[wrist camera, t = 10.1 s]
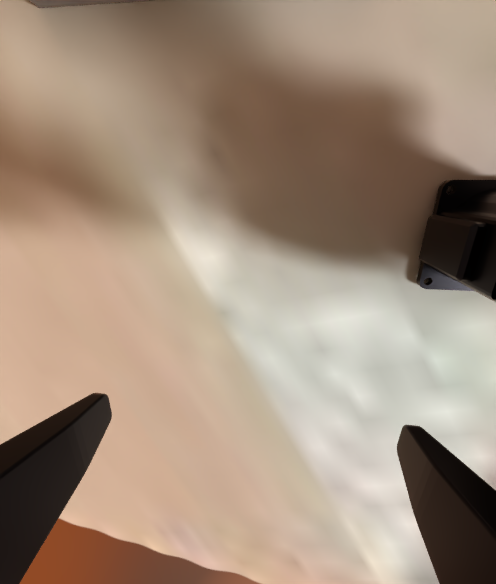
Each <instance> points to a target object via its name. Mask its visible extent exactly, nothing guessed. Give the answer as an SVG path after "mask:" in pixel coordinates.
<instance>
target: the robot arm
mask: <svg viewBox="0 0 496 584" xmlns="http://www.w3.org/2000/svg"><path fill="white" fill-rule="evenodd" d="M450 185H451V186H452V191H451V192H450V193H449V194H448V193H447V188H448V187H449V186H450ZM419 258H420V259H421V264H420V269H419V273H418V277H417V283H418V285H420V286H421V287H422V288H425V289H442V290H467V291H476V292H478V293H480V294H482V295H484V296H485V297H487V298H489V299H491V300H493V301H495V302H496V180H448V181H445V182H443V183H442V184H441V185H440V187H439V189H438V193H437V197H436V202H435V206H434V210H433V214H432V216H431V217H430V218H429V219H428V222H427V226H426V231H425V235H424V239H423V243H422V248H421V252H420V256H419ZM426 278H429V281H428V282H427V283H424V280H425V279H426ZM111 417H112V412H111V408H110V403H109V398H108V396H107V395H106V394H101V393H93V394H91V395H89V396H87V397H85V398H84V399H82V400H80V401H78V402H76V403H75V404H73V405H71V406H69V407H67V408H66V409H64V410H62V411H60V412H58V413H57V414H55V415H53V416H51V417H49V418H48V419H46V420H44V421H42V422H40V423H38V424H37V425H35V426H33V427H31V428H29V429H28V430H26V431H24V432H22V433H20V434H19V435H17V436H15V437H13V438H11V439H10V440H8V441H6V442H4V443H2V444H1V445H0V584H19V583H20V582H21V580H22V578H23V576H24V575H25V573H26V571H27V570H28V568H29V566H30V565H31V563H32V561H33V559H34V558H35V556H36V555H37V553H38V551H39V550H40V548H41V546H42V545H43V543H44V541H45V540H46V538H47V536H48V535H49V533H50V531H51V530H52V528H53V526H54V524H55V523H56V521H57V519H58V518H59V516H60V514H61V513H62V511H63V509H64V508H65V506H66V504H67V503H68V501H69V499H70V498H71V496H72V494H73V493H74V491H75V489H76V488H77V486H78V484H79V483H80V481H81V479H82V477H83V476H84V474H85V472H86V470H87V468H88V466H89V465H90V463H91V460H92V458H93V456H94V454H95V452H96V450H97V448H98V446H99V444H100V442H101V440H102V438H103V436H104V434H105V431H106V429H107V427H108V425H109V423H110V421H111ZM397 453H398V457H399V461H400V465H401V468H402V472H403V476H404V479H405V483H406V487H407V491H408V494H409V498H410V502H411V505H412V509H413V512H414V515H415V518H416V521H417V524H418V527H419V529H420V532H421V535H422V538H423V540H424V543H425V546H426V548H427V551H428V554H429V556H430V559H431V562H432V564H433V567H434V570H435V573H436V575H437V578H438V581H439V583H440V584H496V490H494V489H493V488H492V487H491V486H490V485H489V484H487V483H486V482H485V481H484V480H483V479H482V478H480V477H479V476H478V475H477V474H476V473H475V472H473V471H472V470H471V469H470V468H469V467H467V466H466V465H465V464H464V463H463V462H462V461H460V460H459V459H458V458H457V457H456V456H455V455H453V454H452V453H451V452H450V451H449V450H447V449H446V448H445V447H444V446H443V445H442V444H440V443H439V442H438V441H437V440H436V439H435V438H433V437H432V436H431V435H430V434H429V433H428V432H426V431H425V430H424V429H423V428H421V427H420V426H414V425H404V426H403V428H402V431H401V434H400V437H399V441H398V444H397Z"/></svg>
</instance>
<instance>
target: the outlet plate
mask: <svg viewBox="0 0 496 584" xmlns="http://www.w3.org/2000/svg"><path fill="white" fill-rule="evenodd" d="M29 1H30V2H32V3H33V4H34V5H36V6H37V7H38V8H44V7H59V6H74V5H88V4H103V3H118V2H133V1H147V0H29Z"/></svg>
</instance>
